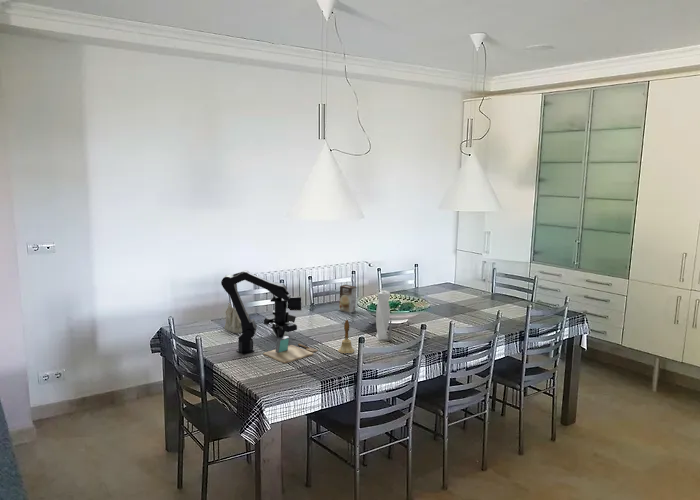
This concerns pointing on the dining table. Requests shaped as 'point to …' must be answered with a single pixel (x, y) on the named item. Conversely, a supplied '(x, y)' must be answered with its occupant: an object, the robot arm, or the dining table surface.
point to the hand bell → (346, 341)
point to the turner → (308, 348)
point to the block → (282, 344)
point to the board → (289, 354)
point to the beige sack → (232, 320)
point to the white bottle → (383, 316)
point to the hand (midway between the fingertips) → (280, 341)
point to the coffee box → (347, 298)
